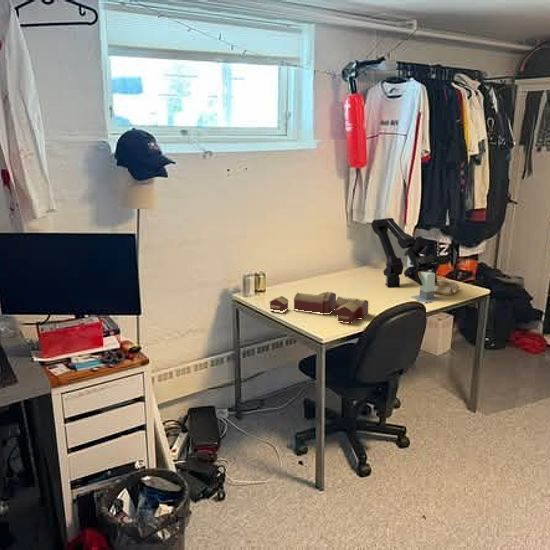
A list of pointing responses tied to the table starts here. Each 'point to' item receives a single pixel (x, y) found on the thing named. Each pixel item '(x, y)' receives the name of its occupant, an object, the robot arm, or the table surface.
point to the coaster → (426, 300)
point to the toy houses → (325, 305)
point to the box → (427, 285)
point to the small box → (412, 265)
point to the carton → (445, 287)
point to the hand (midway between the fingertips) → (429, 284)
